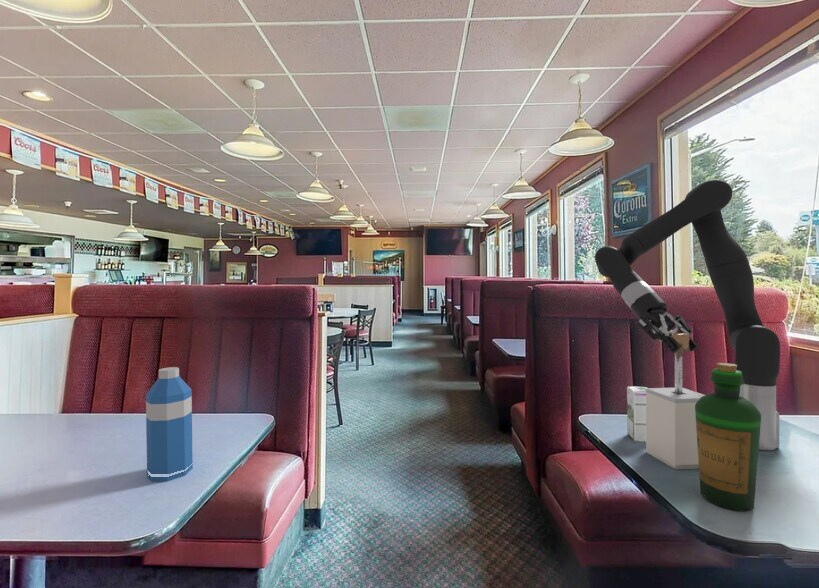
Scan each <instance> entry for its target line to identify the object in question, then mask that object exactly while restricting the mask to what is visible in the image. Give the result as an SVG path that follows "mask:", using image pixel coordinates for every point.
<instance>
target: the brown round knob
mask: <svg viewBox="0 0 819 588" xmlns="http://www.w3.org/2000/svg"><path fill="white" fill-rule="evenodd" d="M669 336H671V337H672V338H673V339H674V340H675V341H676V343H677V344H678V345H679V346H680V350H678V351H677V352H676V353H674V388H675V394H682V388H683V353H684V352H688V351H689V336H690V334H684V333H679V332H677V333H669ZM667 350H669V348H668V347H667ZM689 352H690V351H689Z"/></svg>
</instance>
